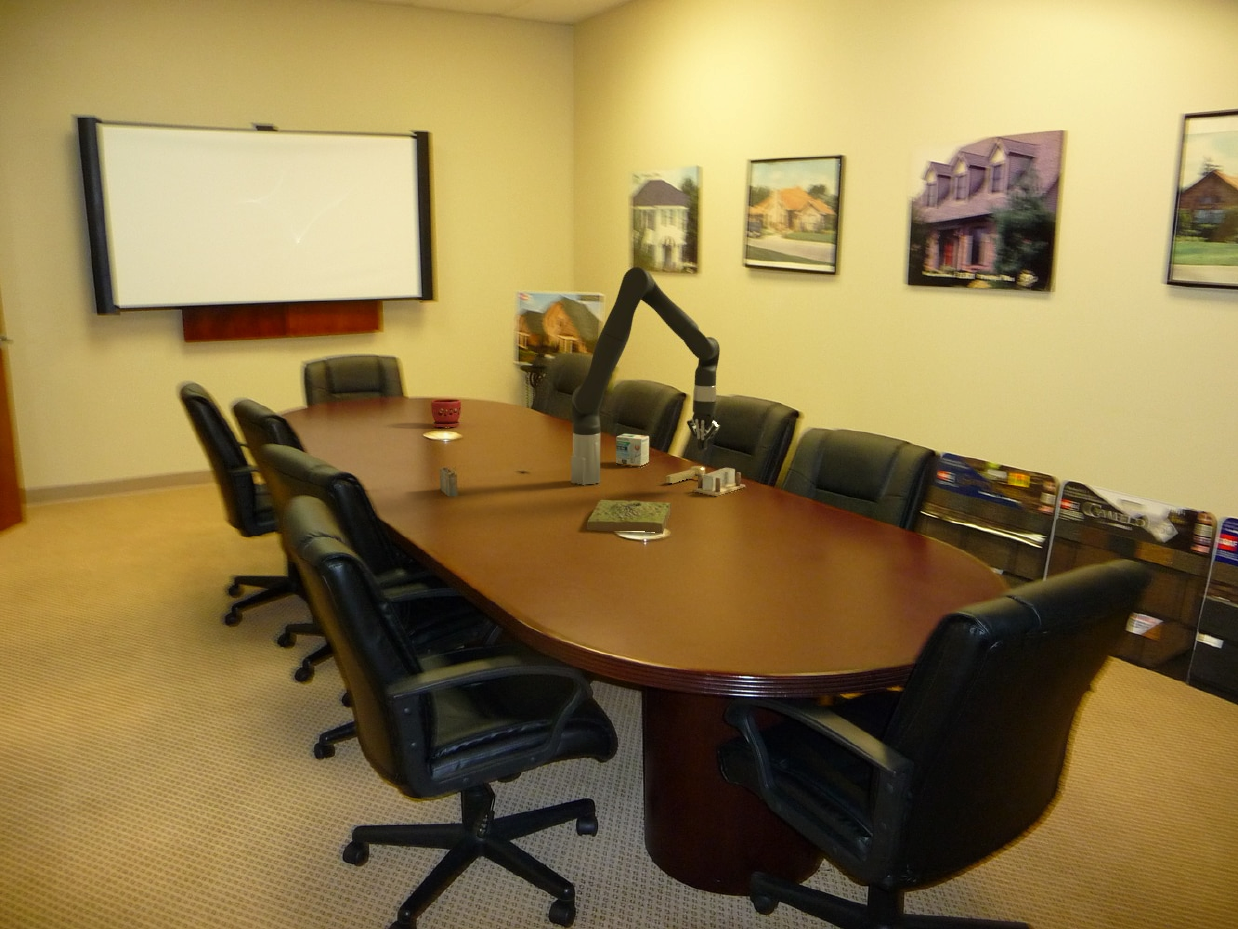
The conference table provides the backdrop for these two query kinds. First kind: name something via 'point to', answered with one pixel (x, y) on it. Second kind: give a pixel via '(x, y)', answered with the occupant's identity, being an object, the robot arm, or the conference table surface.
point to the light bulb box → (632, 449)
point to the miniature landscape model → (629, 516)
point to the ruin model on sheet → (448, 481)
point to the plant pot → (446, 412)
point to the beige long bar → (685, 474)
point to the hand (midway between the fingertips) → (702, 450)
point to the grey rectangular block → (725, 475)
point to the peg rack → (717, 486)
